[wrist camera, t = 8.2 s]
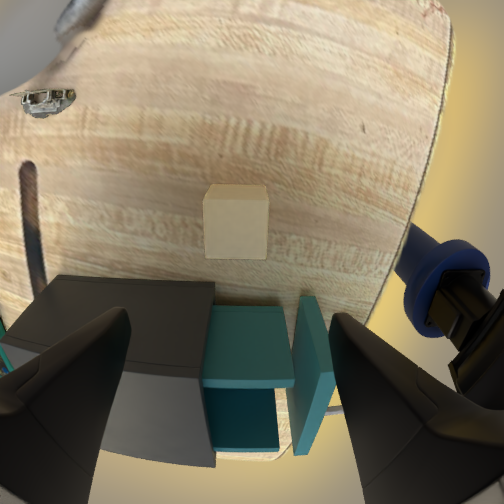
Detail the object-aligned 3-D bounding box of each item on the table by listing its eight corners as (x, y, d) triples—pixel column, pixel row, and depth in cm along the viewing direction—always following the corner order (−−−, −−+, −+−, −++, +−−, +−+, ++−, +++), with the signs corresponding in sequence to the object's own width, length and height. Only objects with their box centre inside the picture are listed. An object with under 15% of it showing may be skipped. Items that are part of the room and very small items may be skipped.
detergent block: (265, 184, 19) (269, 200, 15) (263, 234, 21) (266, 260, 17) (211, 183, 19) (202, 199, 15) (211, 234, 20) (204, 259, 17)
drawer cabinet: (214, 281, 22) (198, 378, 13) (220, 386, 27) (215, 468, 19) (57, 274, 22) (-2, 341, 13) (94, 371, 27) (64, 438, 18)
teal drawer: (372, 294, 22) (413, 361, 15) (343, 385, 27) (361, 447, 20) (140, 291, 21) (104, 362, 14) (163, 384, 26) (147, 449, 19)
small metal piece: (19, 118, 16) (-4, 121, 13) (23, 91, 15) (0, 92, 12) (71, 119, 16) (49, 121, 14) (77, 89, 15) (54, 87, 13)
